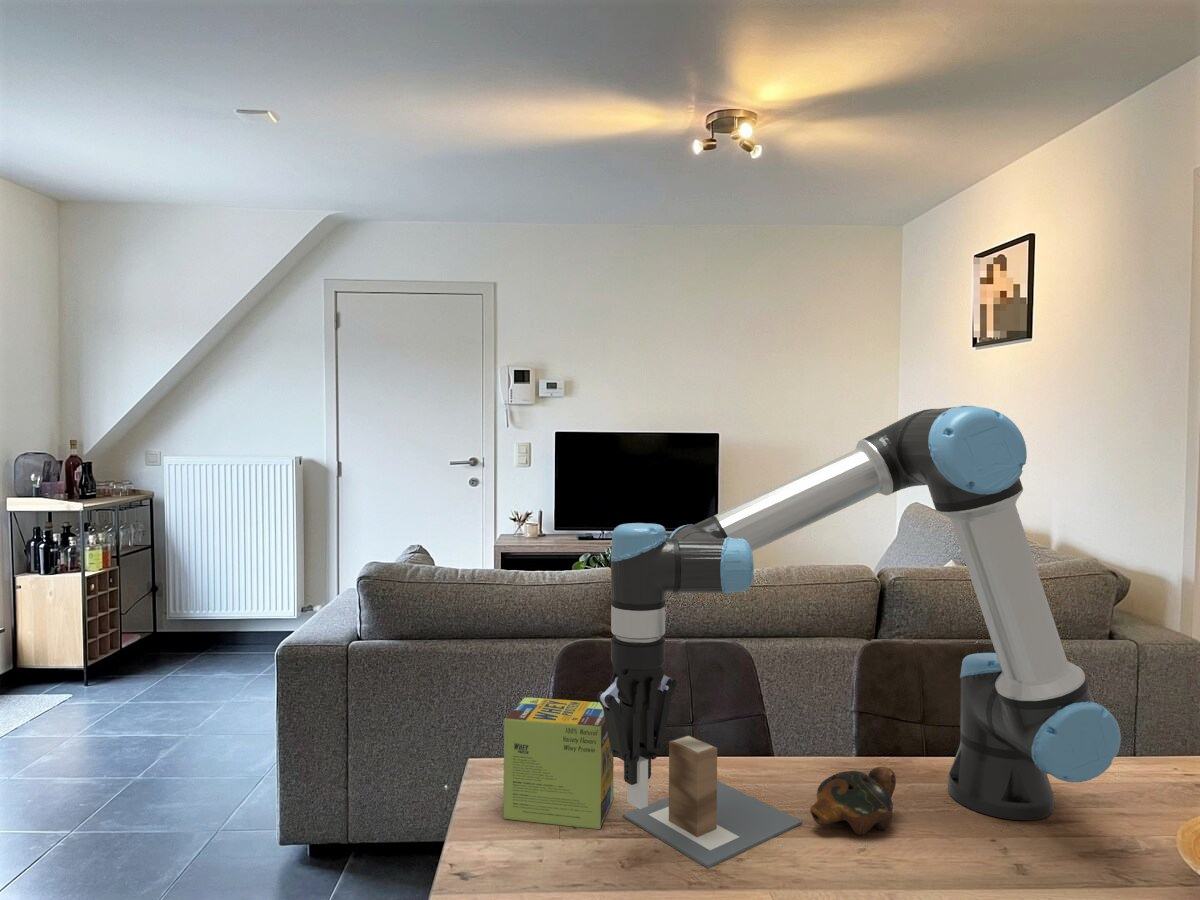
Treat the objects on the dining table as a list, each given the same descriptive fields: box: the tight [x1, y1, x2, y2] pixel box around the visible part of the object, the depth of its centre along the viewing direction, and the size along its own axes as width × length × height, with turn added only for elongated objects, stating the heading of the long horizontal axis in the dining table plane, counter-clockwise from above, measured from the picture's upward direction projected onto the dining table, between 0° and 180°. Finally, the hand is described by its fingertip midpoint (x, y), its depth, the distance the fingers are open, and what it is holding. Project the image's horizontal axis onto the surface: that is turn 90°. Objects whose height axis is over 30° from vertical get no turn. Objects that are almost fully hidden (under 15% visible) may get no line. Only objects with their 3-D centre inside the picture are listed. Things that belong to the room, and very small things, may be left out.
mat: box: [622, 780, 803, 869], centre depth 119 cm, size 18×20×1 cm
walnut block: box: [668, 735, 718, 837], centre depth 117 cm, size 6×4×12 cm, turn 38°
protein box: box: [502, 697, 615, 830], centre depth 123 cm, size 10×15×16 cm
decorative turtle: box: [809, 766, 897, 837], centre depth 118 cm, size 10×15×8 cm, turn 119°
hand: (637, 803), depth 110 cm, fingers closed
